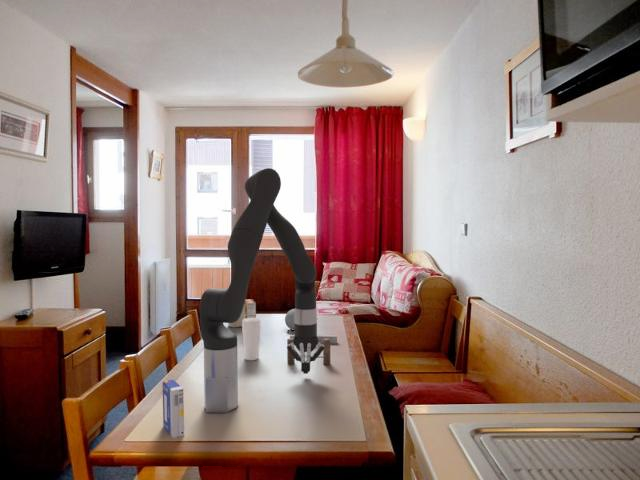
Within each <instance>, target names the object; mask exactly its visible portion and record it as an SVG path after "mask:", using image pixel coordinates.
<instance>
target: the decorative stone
mask: <svg viewBox="0 0 640 480" xmlns="http://www.w3.org/2000/svg"><path fill="white" fill-rule="evenodd" d="M294 314H295V308H292V309H290V310H288V311H287V313H286V314H285V317H284V322H285V325H286V327H288V329H290V330H291V331H294Z"/></svg>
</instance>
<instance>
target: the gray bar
mask: <svg viewBox="0 0 640 480" xmlns="http://www.w3.org/2000/svg"><path fill="white" fill-rule="evenodd" d="M289 338H293V339H294V334H290V336H289ZM317 338H318V340H319V343H321V344H323V339H330V345H331V344H334V345H335V344H338V335H334V334H332V335H331V334H327V335H325V334H322V335H321V334H317Z"/></svg>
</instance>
